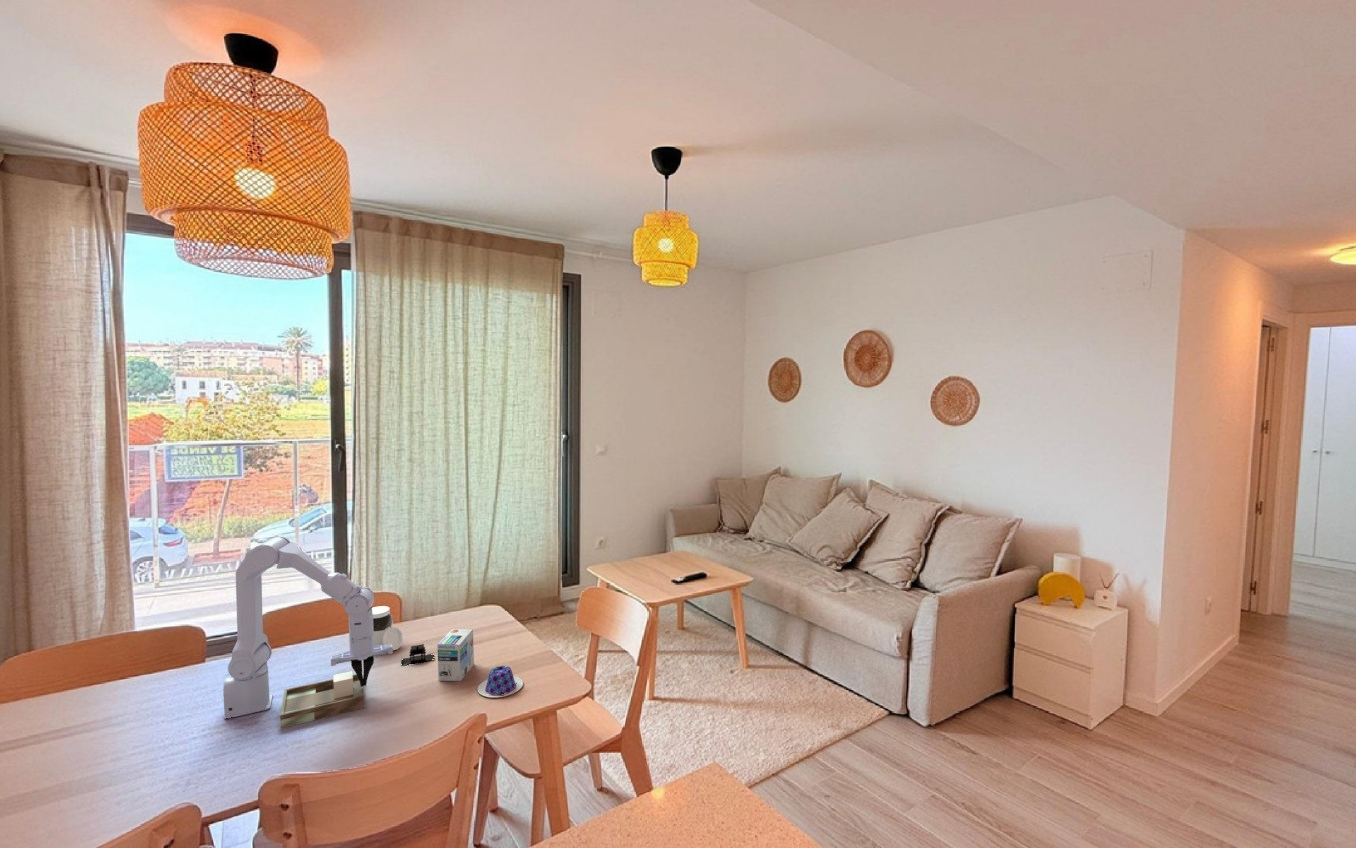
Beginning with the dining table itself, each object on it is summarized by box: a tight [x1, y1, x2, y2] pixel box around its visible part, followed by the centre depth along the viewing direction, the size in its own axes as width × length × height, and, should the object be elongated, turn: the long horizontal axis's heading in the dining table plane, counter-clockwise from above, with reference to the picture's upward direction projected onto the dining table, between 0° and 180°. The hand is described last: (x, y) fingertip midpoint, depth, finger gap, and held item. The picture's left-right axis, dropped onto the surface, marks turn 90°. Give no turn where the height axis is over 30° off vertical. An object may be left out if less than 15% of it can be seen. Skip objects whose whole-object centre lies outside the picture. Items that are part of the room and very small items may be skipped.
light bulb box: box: [436, 628, 475, 682], centre depth 172 cm, size 11×7×11 cm, turn 179°
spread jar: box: [372, 605, 404, 651], centre depth 189 cm, size 12×11×12 cm
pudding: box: [477, 665, 524, 698], centre depth 164 cm, size 12×12×5 cm
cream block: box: [332, 670, 354, 699], centre depth 157 cm, size 4×4×4 cm
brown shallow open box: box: [279, 673, 365, 729], centre depth 155 cm, size 18×14×3 cm
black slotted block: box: [400, 643, 436, 667], centre depth 180 cm, size 12×7×5 cm, turn 113°
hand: (363, 684), depth 160 cm, fingers closed
